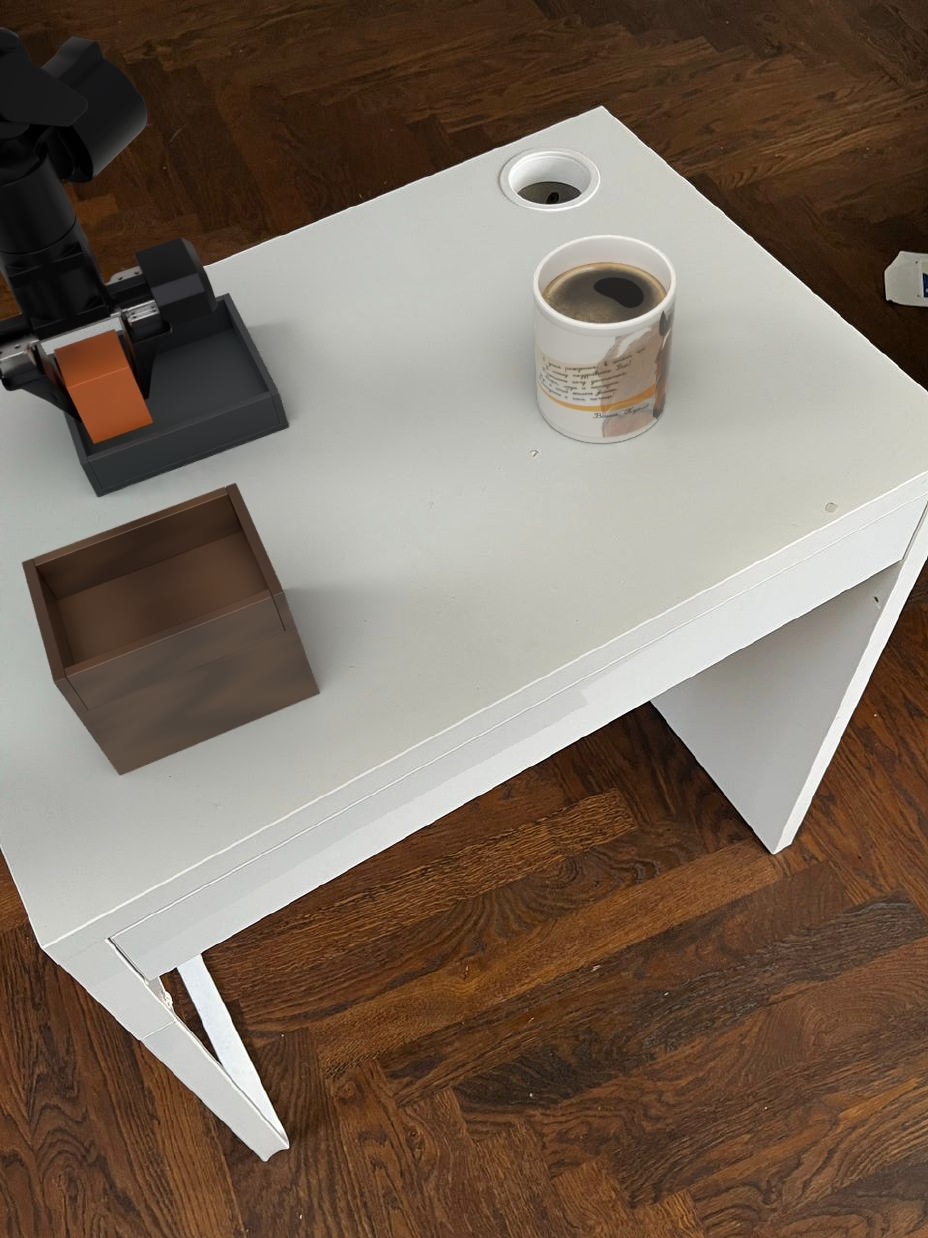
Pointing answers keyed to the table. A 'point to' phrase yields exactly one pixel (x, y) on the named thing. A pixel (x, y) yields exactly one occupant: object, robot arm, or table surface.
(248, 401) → the tub
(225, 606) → the box
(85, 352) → the block
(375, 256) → the table surface
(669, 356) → the mug
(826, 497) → the table surface
